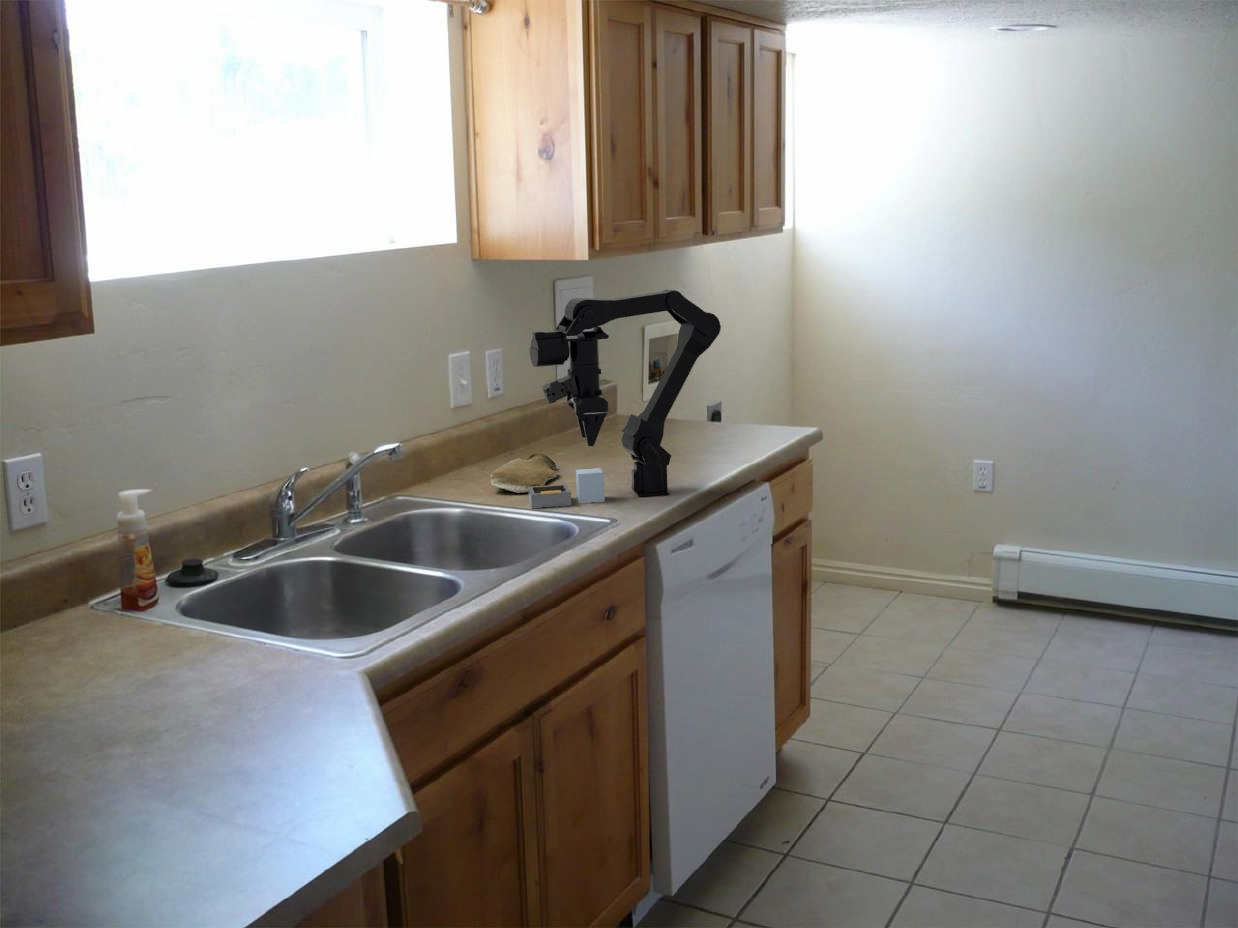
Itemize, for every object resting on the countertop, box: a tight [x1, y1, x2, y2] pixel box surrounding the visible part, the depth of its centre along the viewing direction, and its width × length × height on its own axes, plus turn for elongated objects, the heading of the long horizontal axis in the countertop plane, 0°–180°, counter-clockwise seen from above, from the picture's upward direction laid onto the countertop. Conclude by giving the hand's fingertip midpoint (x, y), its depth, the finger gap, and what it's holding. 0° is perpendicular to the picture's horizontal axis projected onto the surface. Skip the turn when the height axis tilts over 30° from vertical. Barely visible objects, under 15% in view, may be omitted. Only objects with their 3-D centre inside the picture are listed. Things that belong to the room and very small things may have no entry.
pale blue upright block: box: [575, 467, 606, 504], centre depth 242 cm, size 5×4×6 cm
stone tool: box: [490, 453, 559, 494], centre depth 261 cm, size 12×4×25 cm
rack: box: [527, 483, 572, 509], centre depth 241 cm, size 8×7×3 cm
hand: (587, 441), depth 241 cm, fingers open, 9 cm apart
